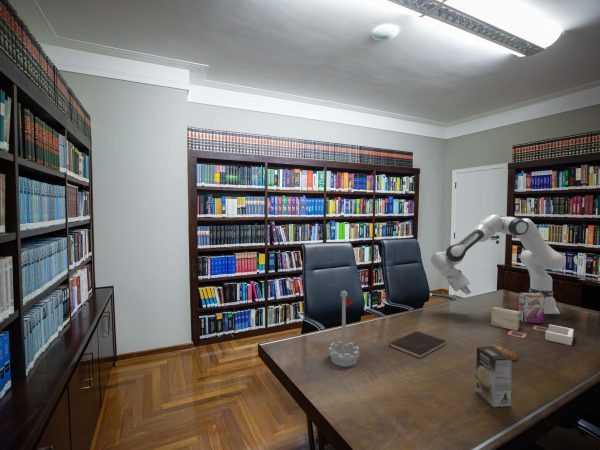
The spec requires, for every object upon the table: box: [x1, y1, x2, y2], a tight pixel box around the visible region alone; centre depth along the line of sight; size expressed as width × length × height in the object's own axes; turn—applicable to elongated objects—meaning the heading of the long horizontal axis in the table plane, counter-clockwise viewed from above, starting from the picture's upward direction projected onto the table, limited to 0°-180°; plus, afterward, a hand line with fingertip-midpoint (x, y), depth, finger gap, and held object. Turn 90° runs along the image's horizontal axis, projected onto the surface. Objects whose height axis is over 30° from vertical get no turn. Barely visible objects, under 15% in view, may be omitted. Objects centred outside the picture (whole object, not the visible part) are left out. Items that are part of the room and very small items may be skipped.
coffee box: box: [475, 345, 513, 408], centre depth 101 cm, size 9×6×16 cm
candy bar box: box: [518, 292, 545, 324], centre depth 173 cm, size 11×5×16 cm, turn 84°
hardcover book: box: [388, 330, 447, 359], centre depth 143 cm, size 16×23×2 cm
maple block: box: [490, 306, 520, 332], centre depth 167 cm, size 6×12×9 cm, turn 45°
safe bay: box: [545, 324, 575, 346], centre depth 150 cm, size 14×10×4 cm
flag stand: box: [328, 290, 360, 367], centre depth 128 cm, size 13×13×30 cm
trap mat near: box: [507, 330, 527, 339], centre depth 155 cm, size 7×7×1 cm
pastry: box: [492, 344, 518, 362], centre depth 131 cm, size 9×7×4 cm
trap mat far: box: [532, 325, 549, 333], centre depth 162 cm, size 7×7×1 cm
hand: (469, 293), depth 179 cm, fingers closed
